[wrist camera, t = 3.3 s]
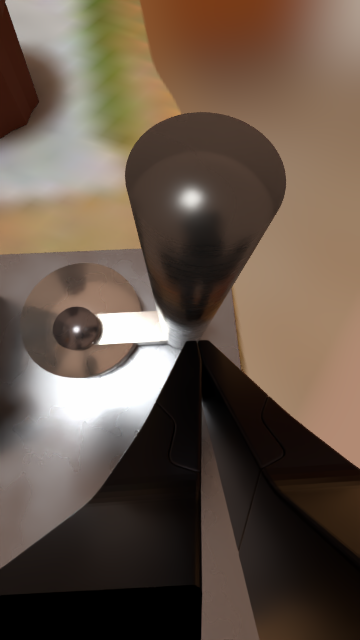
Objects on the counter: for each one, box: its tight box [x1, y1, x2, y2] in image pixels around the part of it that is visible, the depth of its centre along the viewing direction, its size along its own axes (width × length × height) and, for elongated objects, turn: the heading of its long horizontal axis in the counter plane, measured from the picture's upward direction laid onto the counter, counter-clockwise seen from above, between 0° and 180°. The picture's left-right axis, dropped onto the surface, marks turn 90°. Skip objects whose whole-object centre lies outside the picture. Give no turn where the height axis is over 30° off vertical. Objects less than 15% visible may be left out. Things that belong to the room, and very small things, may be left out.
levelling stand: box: [0, 249, 259, 640], centre depth 12 cm, size 22×17×8 cm
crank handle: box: [20, 112, 286, 378], centre depth 10 cm, size 7×11×12 cm, turn 94°
